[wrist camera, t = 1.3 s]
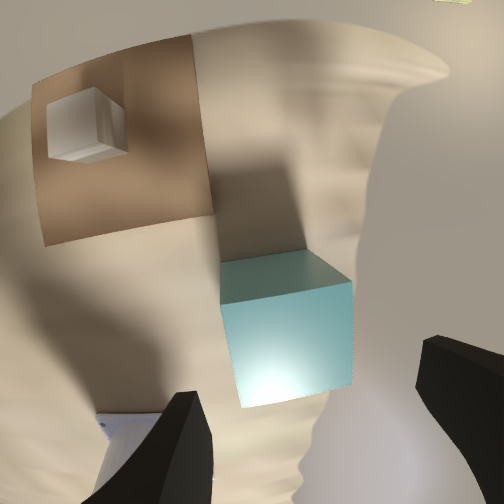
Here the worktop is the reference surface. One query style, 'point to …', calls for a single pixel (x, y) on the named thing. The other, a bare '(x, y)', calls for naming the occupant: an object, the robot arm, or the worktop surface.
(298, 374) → the teal rectangular block
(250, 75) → the worktop surface
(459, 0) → the box
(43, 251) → the worktop surface
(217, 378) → the worktop surface
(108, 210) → the post board
